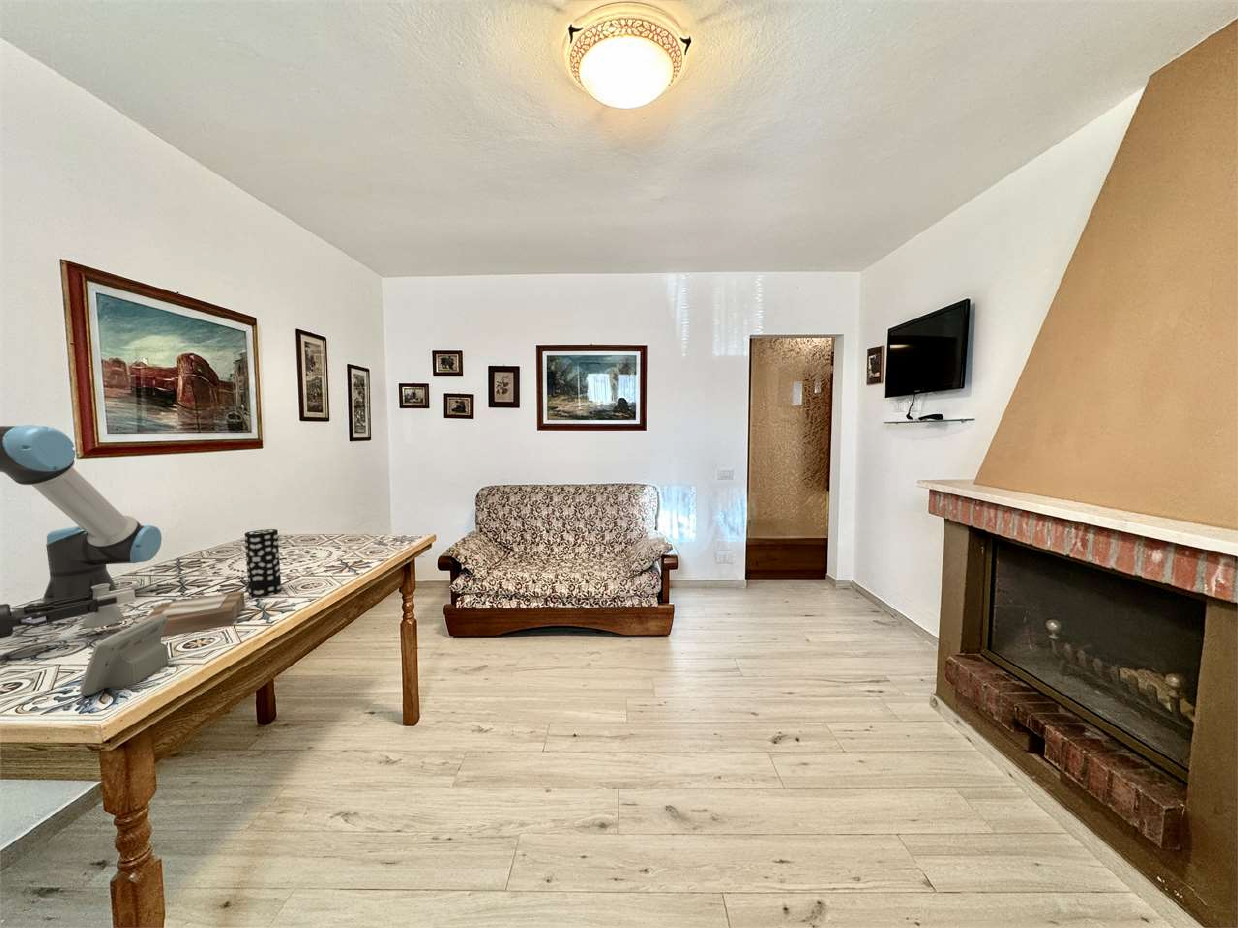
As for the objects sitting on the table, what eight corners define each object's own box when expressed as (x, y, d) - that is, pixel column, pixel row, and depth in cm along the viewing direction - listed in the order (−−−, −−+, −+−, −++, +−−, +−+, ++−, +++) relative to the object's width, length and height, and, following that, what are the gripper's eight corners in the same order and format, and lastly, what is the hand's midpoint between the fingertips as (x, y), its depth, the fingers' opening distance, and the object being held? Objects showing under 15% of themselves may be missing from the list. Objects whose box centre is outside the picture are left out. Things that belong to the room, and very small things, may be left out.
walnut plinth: (162, 617, 129) (161, 601, 129) (244, 604, 138) (243, 589, 138) (138, 641, 113) (136, 623, 113) (232, 624, 123) (230, 608, 122)
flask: (96, 630, 114) (92, 591, 113) (75, 628, 115) (70, 589, 114) (132, 618, 121) (128, 581, 120) (112, 616, 122) (108, 580, 121)
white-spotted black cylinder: (274, 587, 154) (270, 528, 152) (286, 591, 149) (282, 530, 148) (244, 594, 146) (239, 533, 145) (255, 599, 142) (251, 535, 141)
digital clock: (150, 658, 105) (146, 612, 104) (188, 657, 104) (185, 612, 104) (62, 698, 88) (57, 645, 88) (108, 698, 88) (103, 644, 87)
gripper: (-17, 632, 108) (128, 601, 127) (-15, 651, 98) (141, 614, 118) (-21, 601, 107) (125, 574, 126) (-19, 617, 98) (138, 585, 117)
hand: (132, 593), depth 122 cm, fingers closed on flask, 3 cm apart
